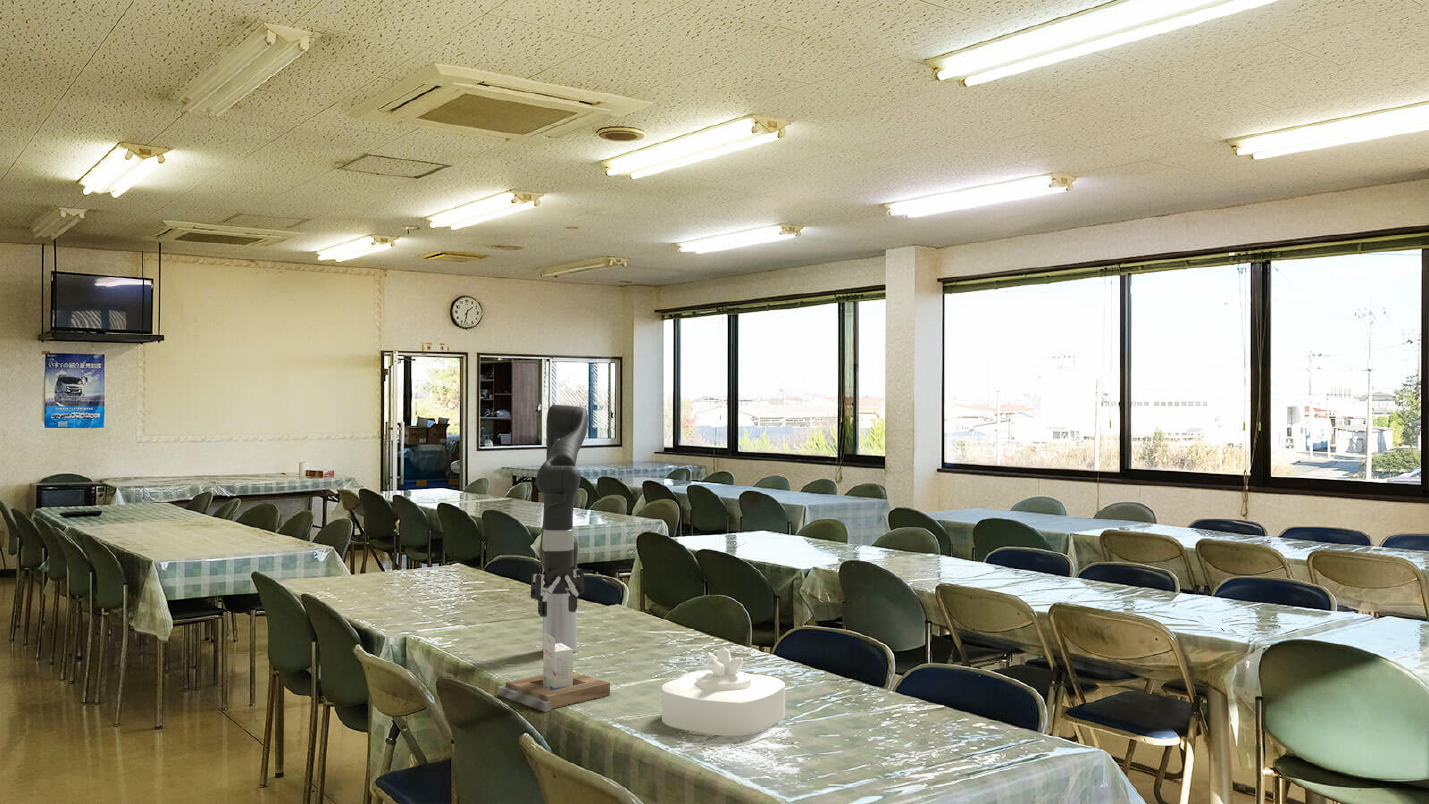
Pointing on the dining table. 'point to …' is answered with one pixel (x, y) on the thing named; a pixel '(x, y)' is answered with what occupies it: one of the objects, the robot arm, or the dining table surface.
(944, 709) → the dining table surface
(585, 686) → the frame
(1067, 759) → the dining table surface
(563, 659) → the ink box
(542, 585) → the robot arm
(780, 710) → the tissue box
